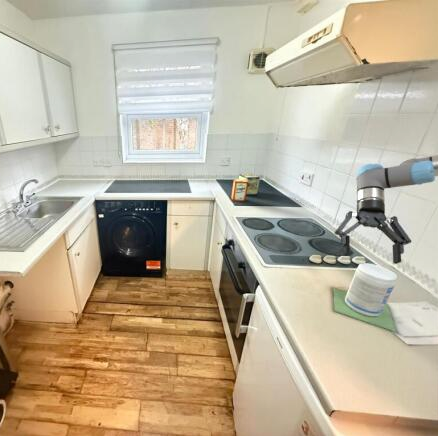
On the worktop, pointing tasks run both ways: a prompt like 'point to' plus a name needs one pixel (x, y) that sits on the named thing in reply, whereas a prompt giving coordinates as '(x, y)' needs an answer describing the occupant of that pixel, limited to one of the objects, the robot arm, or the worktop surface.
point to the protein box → (251, 183)
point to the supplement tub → (370, 289)
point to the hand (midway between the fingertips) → (371, 258)
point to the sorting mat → (380, 320)
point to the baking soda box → (239, 190)
